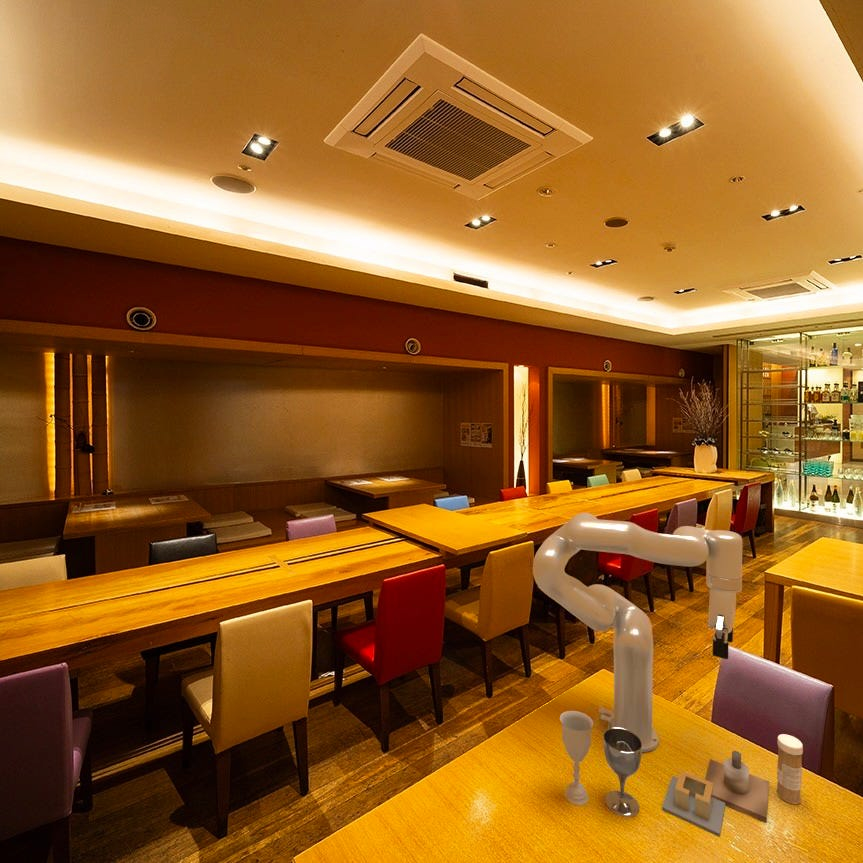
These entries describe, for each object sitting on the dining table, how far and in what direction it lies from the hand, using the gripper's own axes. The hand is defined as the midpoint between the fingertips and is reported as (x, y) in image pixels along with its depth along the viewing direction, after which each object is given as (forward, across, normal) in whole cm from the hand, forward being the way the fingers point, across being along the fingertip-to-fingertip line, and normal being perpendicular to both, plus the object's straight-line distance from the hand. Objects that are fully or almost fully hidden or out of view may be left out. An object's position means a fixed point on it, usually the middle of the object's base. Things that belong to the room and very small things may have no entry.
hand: (722, 648), depth 118 cm
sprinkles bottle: (+28, +5, +14) cm, 32 cm away
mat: (+28, +20, -3) cm, 35 cm away
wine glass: (+28, +29, -16) cm, 44 cm away
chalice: (+28, +33, -25) cm, 50 cm away
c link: (+28, +20, -3) cm, 34 cm away
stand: (+28, +10, +4) cm, 30 cm away
